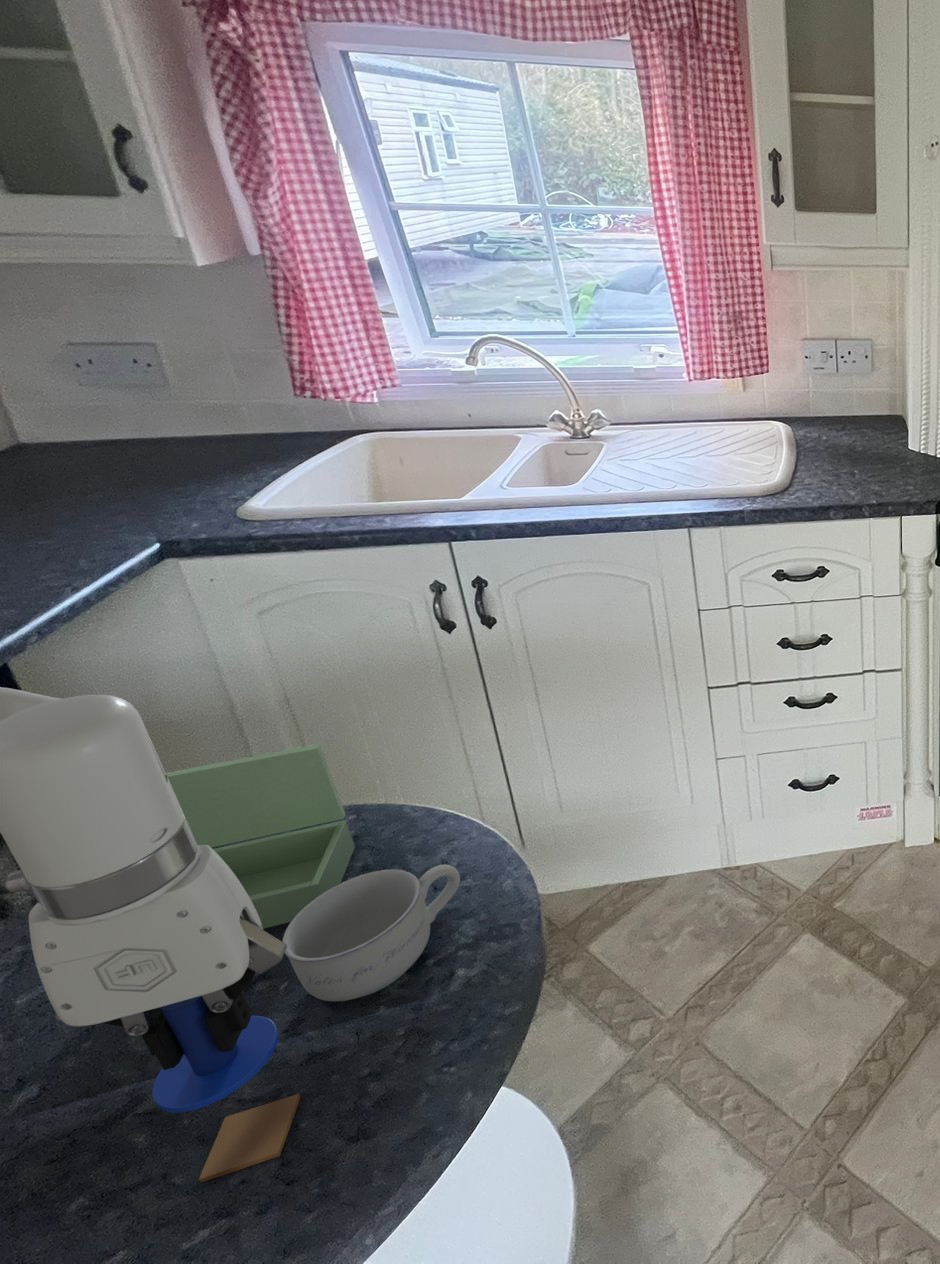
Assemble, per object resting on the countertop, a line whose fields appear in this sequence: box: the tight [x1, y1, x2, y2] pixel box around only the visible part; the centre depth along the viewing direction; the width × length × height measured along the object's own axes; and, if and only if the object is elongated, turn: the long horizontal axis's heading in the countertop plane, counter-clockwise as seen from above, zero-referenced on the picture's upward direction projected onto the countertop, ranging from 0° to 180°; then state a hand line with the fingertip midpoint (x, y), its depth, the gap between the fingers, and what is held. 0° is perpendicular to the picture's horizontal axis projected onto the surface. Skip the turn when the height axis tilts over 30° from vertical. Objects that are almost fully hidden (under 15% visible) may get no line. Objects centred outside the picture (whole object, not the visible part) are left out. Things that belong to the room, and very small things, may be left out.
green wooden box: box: [212, 819, 356, 930], centre depth 88 cm, size 10×13×5 cm
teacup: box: [281, 864, 461, 1002], centre depth 82 cm, size 14×11×8 cm
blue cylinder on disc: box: [151, 996, 280, 1114], centre depth 63 cm, size 7×7×8 cm
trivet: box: [198, 1093, 301, 1183], centre depth 68 cm, size 5×5×1 cm
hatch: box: [165, 743, 346, 849], centre depth 89 cm, size 10×13×1 cm
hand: (207, 1041), depth 64 cm, fingers closed on blue cylinder on disc, 2 cm apart
